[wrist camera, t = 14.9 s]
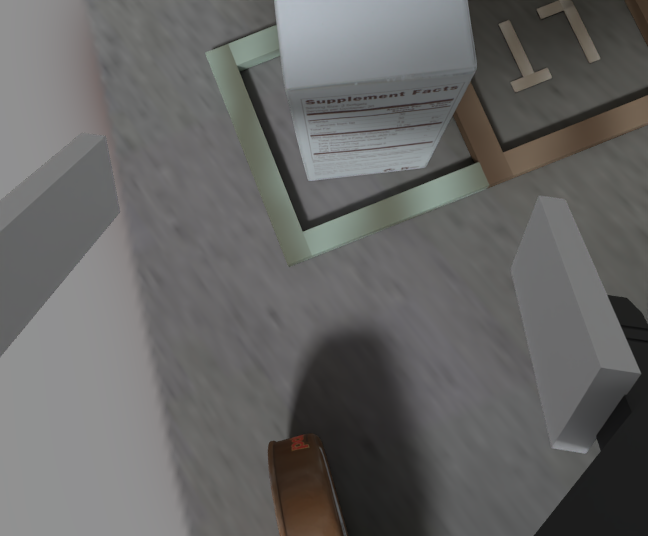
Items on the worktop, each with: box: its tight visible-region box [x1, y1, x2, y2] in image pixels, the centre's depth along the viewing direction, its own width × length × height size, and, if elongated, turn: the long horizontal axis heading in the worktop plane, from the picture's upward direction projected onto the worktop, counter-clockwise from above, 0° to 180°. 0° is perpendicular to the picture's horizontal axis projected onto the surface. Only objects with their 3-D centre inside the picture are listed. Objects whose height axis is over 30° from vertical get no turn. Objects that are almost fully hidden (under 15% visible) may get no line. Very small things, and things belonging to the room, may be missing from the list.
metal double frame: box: [205, 0, 648, 267], centre depth 32 cm, size 26×14×1 cm, turn 112°
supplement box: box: [274, 0, 477, 181], centre depth 26 cm, size 7×7×13 cm
